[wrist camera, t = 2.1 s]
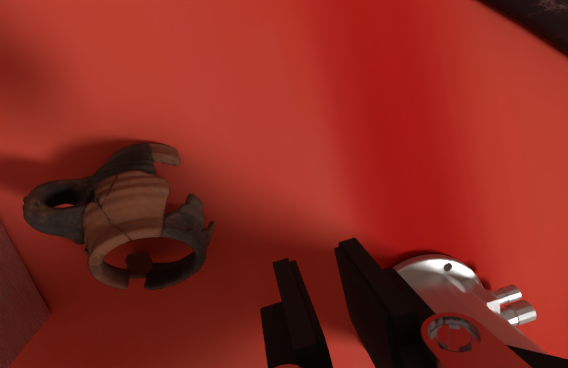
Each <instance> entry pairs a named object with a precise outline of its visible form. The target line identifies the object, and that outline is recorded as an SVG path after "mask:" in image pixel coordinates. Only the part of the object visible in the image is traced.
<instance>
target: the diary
mask: <svg viewBox="0 0 568 368" xmlns="http://www.w3.org/2000/svg"><path fill="white" fill-rule="evenodd" d="M487 1H488V2H490V3H492V4H493V5H495V6H497V7H498V8H500V9H502V10H503V11H505V12H507V13H508V14H510V15H512V16H513V17H515V18H517V19H518V20H520V21H522V22H523V23H525V24H527V25H528V26H530V27H532V28H533V29H535V30H536V31H538V32H539V33H541V34H542V35H544V36H545V37H547V38H548V39H550V40H551V41H553V42H554V43H556V44H557V45H559V46H560V47H562V48H563V49H565V50H566V51H568V0H487Z"/></svg>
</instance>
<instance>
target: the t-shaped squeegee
mask: <svg viewBox="0 0 568 368" xmlns="http://www.w3.org/2000/svg"><path fill="white" fill-rule="evenodd" d="M50 315H51V314H50V312H49V310H48V308H47V306H46V304H45V303H44V301H43V299H42V297H41V295H40V294H39V292H38V290H37V288H36V286H35V285H34V283H33V281H32V279H31V277H30V275H29V274H28V272H27V270H26V268H25V266H24V265H23V263H22V261H21V259H20V257H19V255H18V254H17V252H16V250H15V248H14V246H13V245H12V243H11V241H10V239H9V237H8V236H7V234H6V232H5V230H4V228H3V226H2V225H1V223H0V368H8V366H9V365H10V364H11V363H12V361H13V360H14V359H15V358H16V357H17V355H18V354H19V353H20V352H21V350H22V349H23V348H24V347H25V345H26V344H27V343H28V342H29V341H30V339H31V338H32V337H33V336H34V334H35V333H36V332H37V331H38V329H39V328H40V327H41V326H42V325H43V323H44V322H45V321H46V320H47V318H48V317H49V316H50Z"/></svg>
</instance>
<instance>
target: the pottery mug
mask: <svg viewBox="0 0 568 368" xmlns="http://www.w3.org/2000/svg"><path fill="white" fill-rule="evenodd" d="M153 162H159V163H165V164H169V165H173V166H179V164H180V157H179V155H178V151H177V150H176V149H175V148H173V147H170V146H167V145H162V144H155V143H141V144H133V145H130V146H128V147H125V148H122V149H120V150H118V151H117V152H115V153H114V154H113V155H112V156H111V157H110V158H109V159H108V160H107V162H106V163H105V164H104V165H103V166H102V167H101V168H99V169H98V170H97V172H96V173H94V174H93V176H89V177H86V178H82V179H72V180H56V181H50V182H47V183H44V184H41V185H39V186H37V187H36V188H34V189H33V190H32V191H31V192H30V193H29V195H28V196H26V197H24V198H23V201H24V205H23V212H24V214H23V215H24V219H25V220H26V222H27V223H28V224H29V225H30V226H31V227H33V228H34V229H36V230H38V231H40V232H42V233H46V234H50V235H56V236H61V237H66V238H69V239H71V240H73V241H74V242H76V243H77V244H83V243H85V247H87V248H85V249H84V251H85V253H86V255H87V256H88V257H89V259H88V267H89V270H90V272H91V274H92V275H93V276H94V277H95V279H97V280H98V281H100V282H102V283H103V284H105V285H108V286H110V287H114V288H117V289H126V288H127V287H128V285H129V282H128V281H129V278H132V279H141V278H146V281H145V285H144V287H145V289H149V290H156V289H161V288H165V287H169V286H172V285H175V284H177V283H180V282H182V281H184V280H186V279H187V278H189V277H190V276H191V275H193V274H195V273H196V272H197V271H199V269H200V268H201V267H202V265H203V264H204V262H205V259H206V248H207V246H208V245H209V242H210V240H211V237H212V235H213V232H214V227H215V222H214V221H212V222H210V224H209V225H208V226H207V227H206V228H205V229H203V227H204V220H205V218H204V214H203V212H202V207H203V204H202V202H201V200H200V199H199V198H198V197H197V196H196V195H194V194H189V195H188V197H187V200H186V203H185V204H182V205H181V206H180V207H179V208H177V209H176V210H174V211H172V212H170V213H168V214H166V215H164V211H165V208H166V202H167V199H168V195H169V192H170V187H169V185H168V182H167V181H166V180H165V179H164V178H162V177H159V176H156V175H155V169H154V166H153ZM95 197H96V201H95ZM61 204H72V205H74V206H71V207H66V208H55V206H58V205H61ZM161 236H162V237H166V238H171V239H176V240H179V241H182V242H184V243H186V244H187V245H189V246H190V247H191V248H192V249H193V250H194V252H193V253H191V254H190V255H188V256H186V257H185V258H183V259H181V260H178V261H176V262H170V263H153V262H152V259H151V258H150V257H149V255H148V253H146V252H139V253H133V254H129V255H127V257H126V260H125V262H126V264H127V269H122V268H118V267H115V266H112V265H110V264H107V263H105V262H104V261H103V258H104V257H105V255H106V254H107V253H108V252H110V251H111V250H112V249H114V248H115V247H117V246H119V245H121V244H124V243H126V242H128V241H130V240H136V239H141V238H150V237H161Z"/></svg>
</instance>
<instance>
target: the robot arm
mask: <svg viewBox="0 0 568 368" xmlns="http://www.w3.org/2000/svg"><path fill="white" fill-rule="evenodd" d="M335 255H336V259H337V264H338V268H339V272H340V277H341V281H342V286H343V290H344V294H345V299H346V303H347V307H348V312H349V315H350V318H351V321H352V323H353V325H354V327H355V329H356V331H357V333H358V335H359V337H360V339H361V341H362V342H363V344H364V346H365V348H366V350H367V352H368V354H369V356H370V358H371V360H372V362H373V363H374V365H375V367H376V368H568V359H564V358H559V357H555V356H551V355H549V354H547V353H546V352H545V351H544V350H543V349H541V348H540V347H539V346H538V345H537V344H535V343H534V342H533V341H532V340H531V339H529V338H528V337H527V336H526V335H525V334H523V333H522V332H521V331H520V330H518V329H517V328H516V327H515V325H516V326H519V325H522V324H525V323H528V322H530V321H533V320H535V319H536V312H535V310H534V308H533V307H532V305H531V304H529V303H528V302H527V301H525V300H520V301H517V302H514V303H511V304H508V305H505V306H504V307H503V308H500V305H501V304H504V303H509V302H512V301H515V300H518V299H521V292H520V291H519V289H518V288H517V287H516V286H515V285H509V286H506V287H503V288H500V289H498V290H496V291H493V292H492V291H490V290H486V289H484V288H483V286H482V283H481V282H480V280H479V278H478V276H477V275H476V274H475V273H474V272H473V271H472V269H470V268H469V267H468V266H466V265H465V264H464V263H462V262H461V261H459V260H457V259H455V258H453V257H449V256H446V255H440V254H427V255H420V256H416V257H413V258H410V259H407V260H405V261H403V262H401V263H399V264H397V265H395V266H394V267H393V268H392V267H390V268H387V269H384V270H382V269H381V267H380V266H379V265H378V264H377V263H376V262H375V260H374V259H373V258H372V257H371V256H370V255H369V253H368V252H367V251H366V250H365V249H364V248H363V246H362V245H361V244H360V243H359V242H358V240H357V239H356V238H352V239H348V240H345V241H342V242H339V247H337V248H335ZM273 266H274V270H275V275H276V279H277V283H278V287H279V291H280V295H281V299H282V302H279V303H276V304H273V305H269V306H266V307H263V308H261V309H260V311H261V319H262V327H263V334H264V342H265V349H266V357H267V364H268V368H333V366H332V362H331V358H330V354H329V350H328V347H327V343H326V340H325V337H324V334H323V331H322V329H321V326H320V323H319V321H318V318H317V316H316V313H315V310H314V308H313V305H312V303H311V300H310V297H309V295H308V292H307V289H306V287H305V284H304V282H303V279H302V276H301V274H300V271H299V268H298V266H297V263H296V261H295V260H294V261H291V262H289V259H288V258H286V259H283V260H279V261H276V262H273Z"/></svg>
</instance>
